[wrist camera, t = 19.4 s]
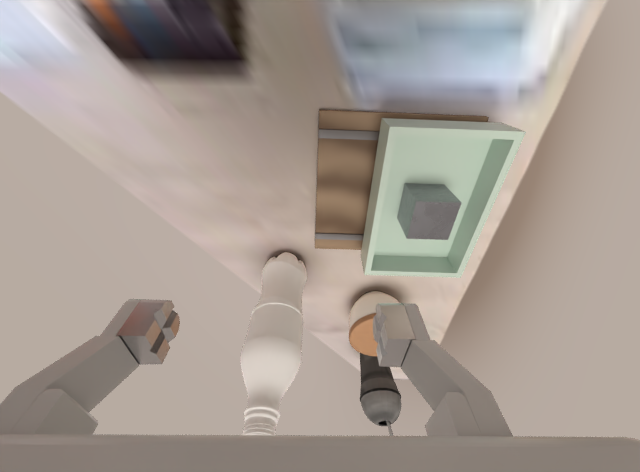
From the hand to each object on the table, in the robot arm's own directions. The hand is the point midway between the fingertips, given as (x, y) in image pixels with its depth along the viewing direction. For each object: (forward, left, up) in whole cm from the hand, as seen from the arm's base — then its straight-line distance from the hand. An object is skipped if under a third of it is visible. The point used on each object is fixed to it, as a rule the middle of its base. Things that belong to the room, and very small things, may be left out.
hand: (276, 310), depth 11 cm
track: (+7, +12, -28) cm, 31 cm away
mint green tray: (+7, +15, -26) cm, 31 cm away
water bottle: (+21, -3, -28) cm, 35 cm away
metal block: (+7, +15, -24) cm, 29 cm away
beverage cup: (+42, +14, -28) cm, 52 cm away
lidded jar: (+30, +13, -28) cm, 43 cm away
